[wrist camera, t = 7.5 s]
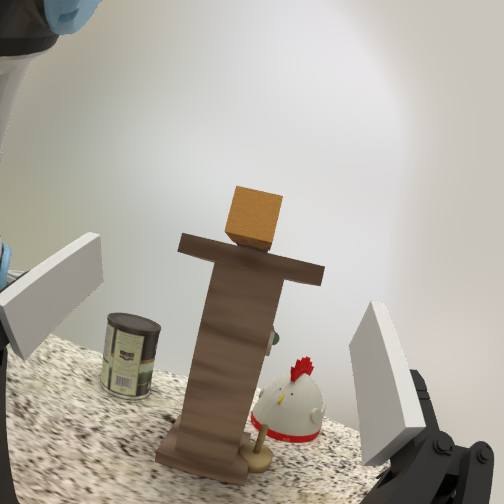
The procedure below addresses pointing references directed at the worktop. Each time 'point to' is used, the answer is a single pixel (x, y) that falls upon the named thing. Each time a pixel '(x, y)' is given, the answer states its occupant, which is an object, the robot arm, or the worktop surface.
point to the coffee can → (129, 355)
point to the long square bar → (253, 218)
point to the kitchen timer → (291, 406)
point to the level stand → (230, 360)
